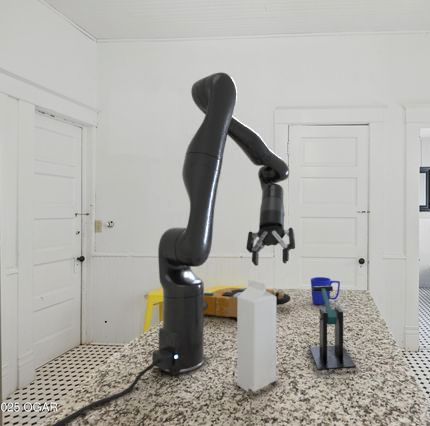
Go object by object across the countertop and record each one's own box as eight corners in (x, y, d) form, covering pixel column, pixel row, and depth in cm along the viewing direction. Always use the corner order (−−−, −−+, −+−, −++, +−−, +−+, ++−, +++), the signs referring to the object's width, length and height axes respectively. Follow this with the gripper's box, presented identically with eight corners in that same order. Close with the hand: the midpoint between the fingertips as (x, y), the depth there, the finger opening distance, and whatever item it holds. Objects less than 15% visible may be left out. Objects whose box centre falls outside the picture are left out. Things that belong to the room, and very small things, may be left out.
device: (228, 280, 133) (293, 286, 123) (228, 300, 133) (293, 307, 123) (193, 293, 111) (268, 300, 101) (193, 316, 111) (268, 326, 101)
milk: (259, 375, 70) (259, 277, 71) (276, 385, 66) (277, 281, 66) (236, 385, 66) (237, 281, 66) (253, 396, 62) (254, 286, 62)
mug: (340, 306, 124) (340, 281, 124) (310, 306, 124) (310, 281, 124) (338, 300, 132) (338, 277, 132) (310, 300, 132) (310, 277, 132)
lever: (312, 290, 88) (313, 284, 87) (331, 290, 89) (332, 283, 88) (320, 325, 76) (321, 317, 75) (342, 324, 77) (343, 316, 76)
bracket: (309, 351, 82) (309, 303, 82) (342, 349, 84) (342, 302, 84) (318, 374, 70) (318, 318, 70) (356, 371, 72) (356, 316, 72)
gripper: (246, 211, 95) (241, 260, 87) (291, 206, 93) (291, 256, 85) (253, 222, 101) (250, 269, 93) (296, 218, 99) (296, 266, 91)
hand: (270, 263), depth 89 cm, fingers open, 8 cm apart
